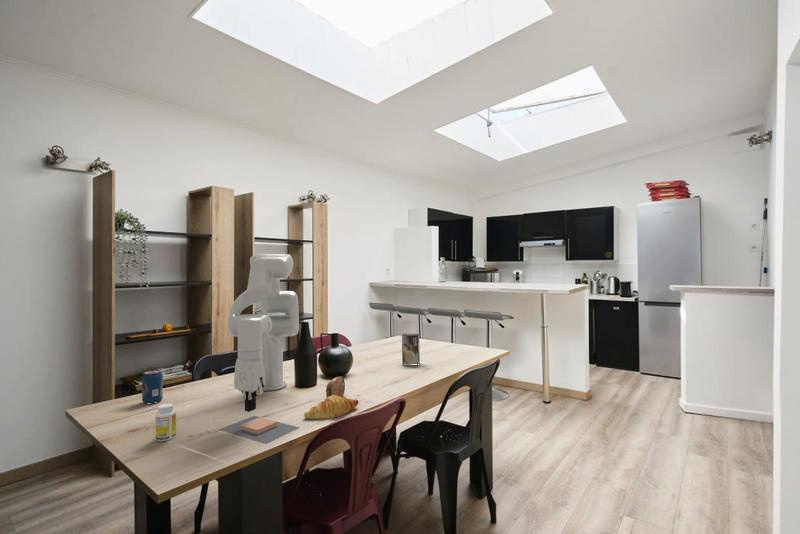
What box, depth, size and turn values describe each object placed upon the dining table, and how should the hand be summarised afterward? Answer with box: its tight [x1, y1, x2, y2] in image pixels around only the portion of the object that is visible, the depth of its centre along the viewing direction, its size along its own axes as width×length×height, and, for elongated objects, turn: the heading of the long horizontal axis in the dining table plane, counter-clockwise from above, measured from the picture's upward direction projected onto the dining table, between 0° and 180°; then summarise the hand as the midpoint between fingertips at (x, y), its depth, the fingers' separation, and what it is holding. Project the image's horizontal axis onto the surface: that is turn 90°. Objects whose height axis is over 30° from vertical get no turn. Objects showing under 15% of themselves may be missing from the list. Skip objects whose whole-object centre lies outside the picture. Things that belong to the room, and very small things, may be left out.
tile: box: [241, 416, 278, 435], centre depth 132 cm, size 2×8×8 cm
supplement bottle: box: [154, 402, 177, 442], centre depth 126 cm, size 6×6×10 cm
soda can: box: [141, 369, 164, 405], centre depth 160 cm, size 7×7×12 cm
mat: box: [219, 415, 301, 445], centre depth 132 cm, size 22×14×1 cm, turn 60°
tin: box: [325, 376, 346, 398], centre depth 161 cm, size 15×3×8 cm, turn 168°
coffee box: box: [401, 333, 421, 366], centre depth 219 cm, size 9×6×16 cm
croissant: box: [303, 395, 359, 420], centre depth 146 cm, size 21×10×8 cm, turn 127°
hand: (250, 410), depth 134 cm, fingers closed
